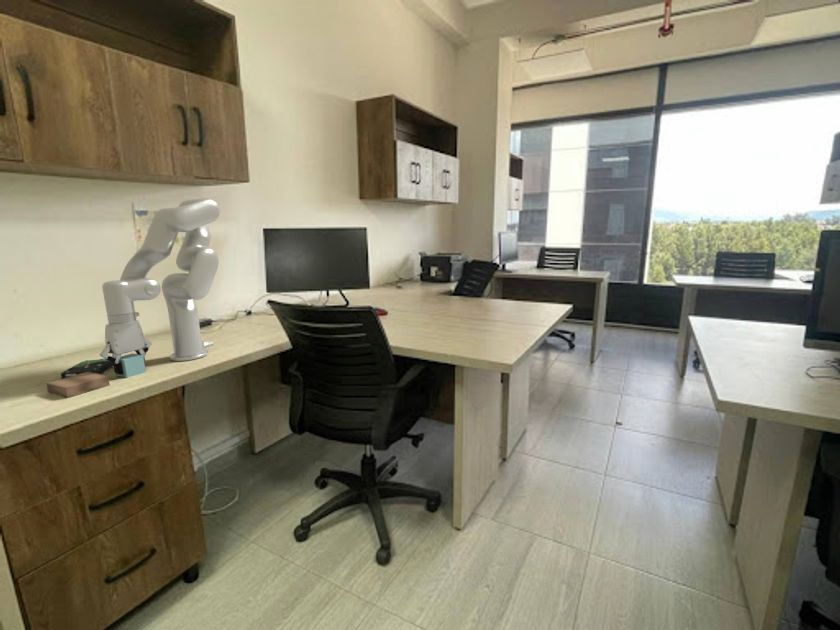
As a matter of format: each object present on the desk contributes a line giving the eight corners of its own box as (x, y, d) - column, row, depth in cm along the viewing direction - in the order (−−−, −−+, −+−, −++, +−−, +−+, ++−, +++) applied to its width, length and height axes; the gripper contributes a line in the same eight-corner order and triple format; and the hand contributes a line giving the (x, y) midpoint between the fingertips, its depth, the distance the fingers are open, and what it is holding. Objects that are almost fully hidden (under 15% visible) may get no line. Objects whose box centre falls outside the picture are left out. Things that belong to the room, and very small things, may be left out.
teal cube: (135, 370, 143) (132, 353, 142) (145, 372, 141) (143, 355, 140) (116, 375, 138) (113, 358, 137) (127, 377, 136) (124, 360, 134)
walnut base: (90, 380, 133) (88, 371, 133) (109, 385, 129) (108, 376, 128) (48, 392, 124) (46, 382, 123) (67, 398, 119) (65, 388, 118)
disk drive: (98, 378, 138) (117, 364, 152) (96, 370, 137) (116, 357, 151) (61, 381, 135) (84, 367, 149) (59, 373, 135) (83, 359, 149)
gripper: (142, 313, 145) (149, 362, 148) (85, 322, 130) (95, 377, 133) (155, 314, 142) (163, 364, 145) (98, 324, 127) (108, 380, 130)
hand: (130, 370), depth 139 cm, fingers open, 6 cm apart
